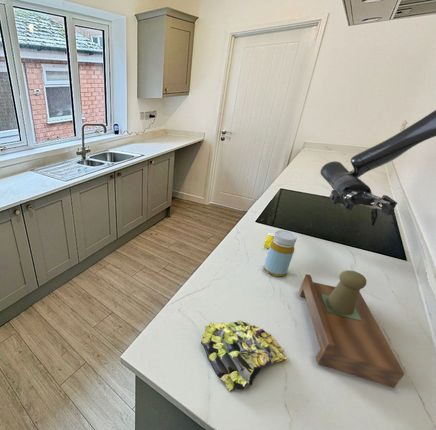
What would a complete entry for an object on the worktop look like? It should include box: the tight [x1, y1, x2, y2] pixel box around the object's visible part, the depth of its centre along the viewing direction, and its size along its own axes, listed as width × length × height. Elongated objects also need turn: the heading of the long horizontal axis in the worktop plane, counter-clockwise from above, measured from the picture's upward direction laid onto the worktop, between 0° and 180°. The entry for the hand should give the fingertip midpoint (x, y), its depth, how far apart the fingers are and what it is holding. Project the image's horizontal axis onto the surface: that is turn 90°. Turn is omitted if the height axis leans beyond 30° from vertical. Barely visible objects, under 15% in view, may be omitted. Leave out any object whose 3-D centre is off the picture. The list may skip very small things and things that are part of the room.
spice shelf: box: [298, 273, 406, 388], centre depth 69 cm, size 14×26×7 cm, turn 156°
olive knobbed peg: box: [326, 269, 368, 315], centre depth 69 cm, size 6×6×11 cm
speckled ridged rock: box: [200, 320, 288, 392], centre depth 64 cm, size 20×16×7 cm
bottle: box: [263, 229, 298, 277], centre depth 90 cm, size 7×7×15 cm
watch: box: [263, 232, 275, 249], centre depth 105 cm, size 6×3×6 cm, turn 130°
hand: (370, 209), depth 73 cm, fingers open, 8 cm apart
